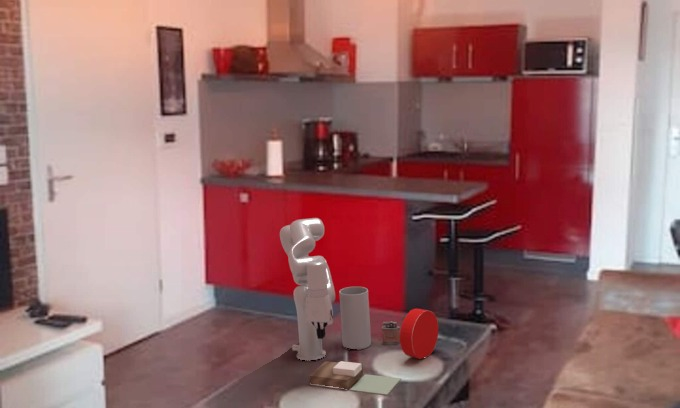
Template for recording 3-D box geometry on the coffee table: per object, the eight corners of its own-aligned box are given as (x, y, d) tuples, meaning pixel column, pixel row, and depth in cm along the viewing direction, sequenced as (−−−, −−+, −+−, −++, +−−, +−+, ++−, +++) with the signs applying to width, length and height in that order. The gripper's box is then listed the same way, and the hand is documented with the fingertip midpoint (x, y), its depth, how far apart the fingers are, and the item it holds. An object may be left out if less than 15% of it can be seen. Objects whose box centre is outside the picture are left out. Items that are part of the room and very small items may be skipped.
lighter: (400, 341, 325) (399, 320, 323) (400, 344, 321) (399, 322, 320) (382, 342, 326) (381, 320, 324) (382, 345, 322) (381, 323, 321)
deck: (309, 385, 285) (309, 375, 284) (326, 370, 298) (325, 361, 297) (347, 390, 278) (346, 380, 277) (362, 374, 291) (362, 365, 291)
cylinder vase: (371, 339, 329) (368, 286, 325) (370, 350, 317) (367, 294, 313) (344, 340, 331) (340, 287, 327) (341, 350, 318) (337, 295, 314)
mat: (350, 390, 277) (349, 389, 277) (365, 375, 291) (365, 374, 291) (387, 395, 271) (387, 394, 271) (400, 379, 285) (400, 378, 285)
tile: (333, 373, 284) (332, 367, 284) (340, 367, 290) (340, 361, 290) (354, 376, 280) (354, 370, 280) (361, 369, 286) (361, 363, 286)
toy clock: (427, 347, 316) (425, 302, 313) (439, 350, 312) (437, 304, 309) (401, 363, 301) (398, 316, 298) (413, 365, 297) (410, 318, 294)
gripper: (296, 294, 284) (299, 339, 287) (331, 296, 278) (334, 342, 280) (305, 288, 291) (308, 333, 293) (339, 290, 284) (342, 336, 287)
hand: (321, 337), depth 287 cm, fingers closed
